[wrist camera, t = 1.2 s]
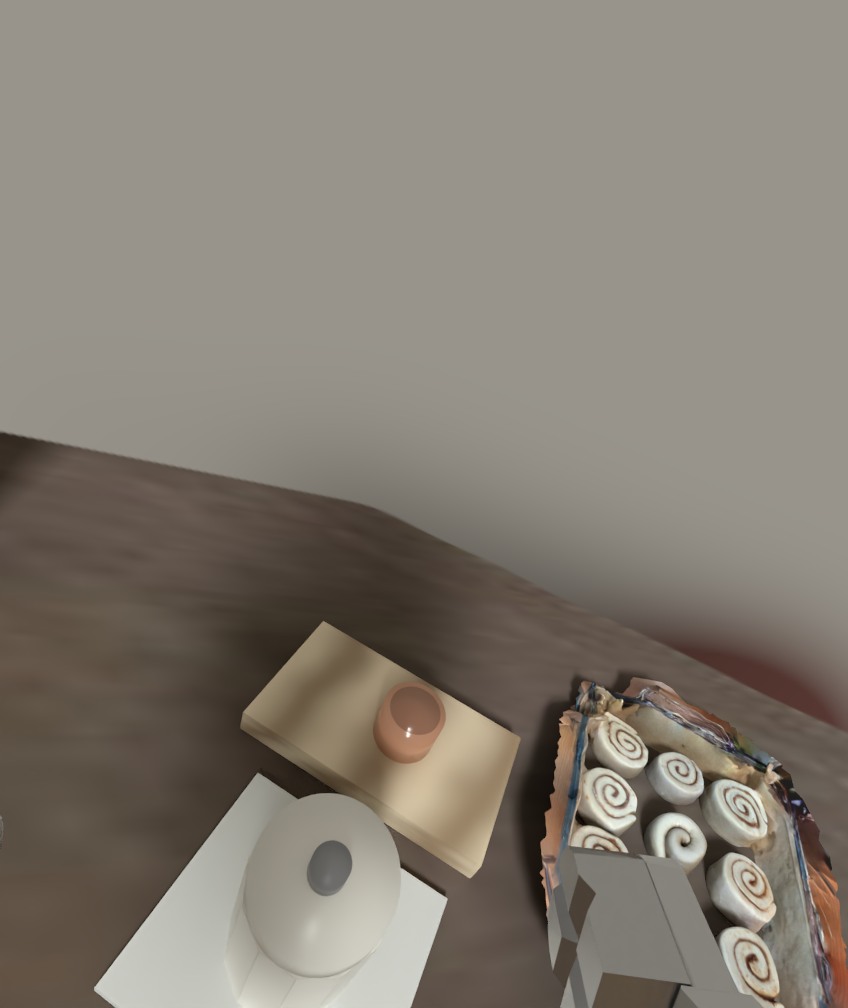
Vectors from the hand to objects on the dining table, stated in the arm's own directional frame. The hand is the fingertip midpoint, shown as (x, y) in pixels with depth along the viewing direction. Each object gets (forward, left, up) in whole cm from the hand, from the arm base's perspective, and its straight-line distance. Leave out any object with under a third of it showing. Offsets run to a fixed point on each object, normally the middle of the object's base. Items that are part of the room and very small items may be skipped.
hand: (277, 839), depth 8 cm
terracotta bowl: (+1, +20, -26) cm, 33 cm away
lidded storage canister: (+1, +7, -28) cm, 29 cm away
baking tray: (+22, +24, -29) cm, 43 cm away
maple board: (0, +20, -28) cm, 35 cm away
